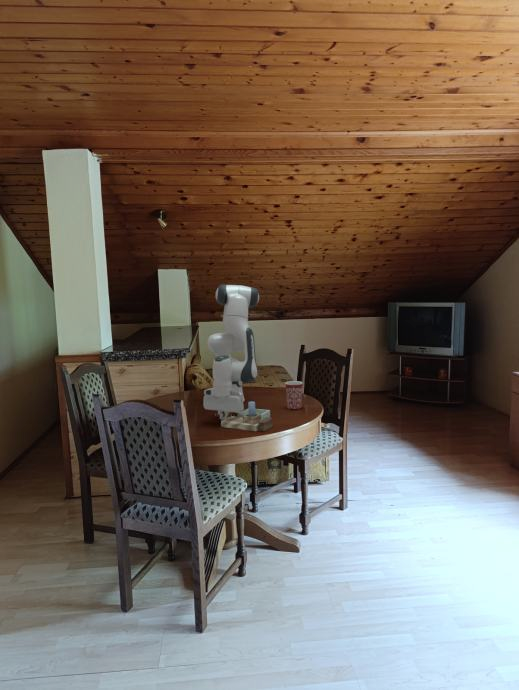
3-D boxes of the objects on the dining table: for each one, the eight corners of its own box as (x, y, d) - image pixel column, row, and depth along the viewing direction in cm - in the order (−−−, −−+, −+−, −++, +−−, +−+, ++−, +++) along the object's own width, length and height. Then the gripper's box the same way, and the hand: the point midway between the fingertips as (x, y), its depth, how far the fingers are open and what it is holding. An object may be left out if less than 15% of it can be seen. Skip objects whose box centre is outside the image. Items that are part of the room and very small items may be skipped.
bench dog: (258, 430, 202) (258, 422, 202) (266, 425, 209) (266, 417, 209) (264, 431, 201) (264, 422, 200) (272, 426, 208) (272, 418, 207)
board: (221, 426, 210) (220, 415, 209) (232, 421, 219) (231, 409, 218) (256, 431, 201) (255, 419, 201) (266, 425, 210) (265, 413, 210)
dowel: (247, 422, 207) (247, 402, 206) (250, 420, 210) (250, 401, 209) (253, 422, 206) (253, 403, 205) (256, 421, 208) (256, 401, 207)
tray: (237, 421, 218) (237, 413, 218) (249, 415, 228) (249, 408, 228) (259, 423, 213) (259, 416, 212) (270, 417, 223) (270, 410, 223)
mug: (303, 410, 235) (303, 384, 233) (285, 410, 236) (285, 384, 234) (302, 404, 248) (302, 379, 246) (285, 404, 248) (285, 379, 246)
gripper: (245, 391, 211) (246, 420, 213) (208, 388, 220) (209, 416, 222) (238, 394, 205) (239, 424, 207) (201, 390, 215) (202, 419, 216)
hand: (223, 420), depth 214 cm, fingers closed
